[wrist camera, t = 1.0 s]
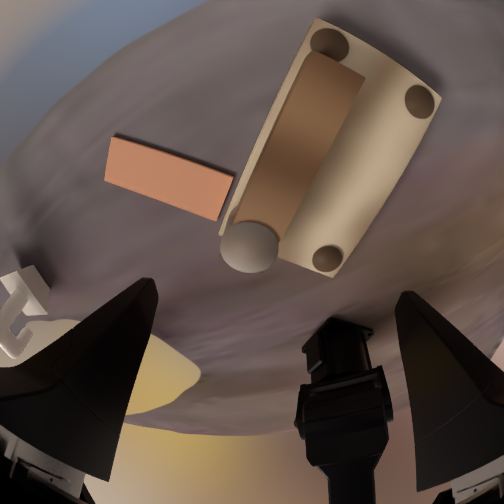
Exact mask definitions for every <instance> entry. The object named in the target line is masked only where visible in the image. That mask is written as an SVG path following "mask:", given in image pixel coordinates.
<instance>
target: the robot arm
mask: <svg viewBox="0 0 504 504" xmlns="http://www.w3.org/2000/svg"><path fill="white" fill-rule="evenodd" d="M157 304H158V292H157V289H156V285H155V282H154V280H153V279H152V278H145V277H143V278H141V279H139V280H138V281H136V282H135V283H134V284H132V285H131V286H129V287H128V288H127V289H125V290H124V291H122V292H121V293H120V294H118V295H117V296H115V297H114V298H113V299H111V300H110V301H108V302H107V303H106V304H104V305H103V306H102V307H100V308H99V309H97V310H96V311H95V312H93V313H92V314H91V315H89V316H88V317H87V318H85V319H84V320H83V321H81V322H80V323H79V324H77V325H76V326H75V327H74V328H73V329H71V330H69V331H68V332H67V333H65V334H64V335H63V336H61V337H60V338H59V339H57V340H56V341H54V342H53V343H52V344H50V345H49V346H47V347H46V348H44V349H43V350H41V351H40V352H38V353H37V354H35V355H33V356H32V357H30V358H29V359H27V360H26V361H24V362H23V363H21V364H19V365H17V366H14V367H5V368H4V367H2V368H1V367H0V504H95V502H94V500H93V499H92V497H91V495H90V493H89V492H88V490H87V488H86V486H85V484H84V482H83V481H84V477H85V474H89V475H91V476H93V477H96V478H99V479H101V480H104V481H107V482H109V479H110V475H111V470H112V465H113V461H114V457H115V452H116V448H117V444H118V441H119V436H120V435H119V434H120V432H121V428H122V425H123V421H124V417H125V414H126V410H127V407H128V403H129V400H130V396H131V393H132V390H133V387H134V383H135V380H136V377H137V374H138V371H139V367H140V364H141V361H142V358H143V355H144V352H145V349H146V346H147V344H148V340H149V337H150V334H151V329H152V325H153V321H154V316H155V312H156V308H157ZM395 318H396V324H397V332H398V339H399V347H400V352H401V357H402V361H403V366H404V371H405V377H406V382H407V388H408V394H409V400H410V407H411V414H412V422H413V432H414V442H415V458H416V481H417V482H416V484H417V486H416V487H417V492H420V491H423V490H426V489H429V488H432V487H435V486H438V485H441V484H444V483H446V482H449V481H451V485H452V488H449V489H447V490H445V491H443V492H440V493H439V494H438V496H437V497H436V499H435V501H434V502H433V504H504V372H503V371H502V370H501V369H500V368H499V367H497V366H496V365H495V364H494V363H493V362H492V361H491V360H490V359H488V358H487V357H486V356H485V355H484V354H483V353H482V352H481V351H480V350H479V349H478V348H477V347H476V346H475V345H473V343H472V342H471V341H470V340H468V339H467V338H466V337H465V336H464V335H463V334H462V333H461V332H460V331H459V330H458V329H457V328H455V327H454V326H453V325H452V324H451V323H450V322H449V321H448V320H447V319H445V318H444V317H443V316H442V315H441V314H440V313H439V312H438V311H436V310H435V309H434V308H433V307H432V306H431V305H429V304H428V303H427V302H426V301H425V300H424V299H422V298H421V297H420V296H419V295H418V294H416V293H415V292H414V291H403V292H402V293H401V295H400V298H399V300H398V302H397V304H396V307H395ZM373 335H374V332H373V330H372V329H369V328H366V327H362V326H359V325H356V324H352V323H349V322H346V321H342V320H339V319H336V318H329V319H328V320H327V321H326V322H325V323H324V324H323V325H322V326H321V328H320V329H319V330H318V331H317V332H316V333H315V334H314V335H313V336H312V337H311V338H310V339H309V340H308V341H307V343H306V344H305V345H304V346H303V347H302V353H305V354H306V356H307V371H308V373H309V374H311V384H302V385H300V391H299V395H298V404H297V413H296V418H295V421H294V426H295V427H296V428H297V429H298V430H299V434H300V437H301V438H302V440H305V443H306V457H307V459H308V461H309V462H310V464H311V465H312V466H316V467H317V468H318V469H319V470H320V471H321V472H322V474H323V475H324V476H325V477H326V478H327V480H328V492H329V504H376V494H375V478H374V469H375V467H376V465H377V464H378V462H379V459H380V458H381V456H382V453H383V451H384V449H385V447H386V445H387V443H388V440H389V436H388V427H387V423H389V422H392V421H393V409H392V402H391V397H390V393H389V389H388V385H387V382H386V378H385V375H384V371H383V368H382V365H380V366H377V367H376V368H373V369H372V366H371V361H370V357H369V353H368V348H367V344H366V341H367V340H369V339H370V338H371V337H372V336H373Z"/></svg>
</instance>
